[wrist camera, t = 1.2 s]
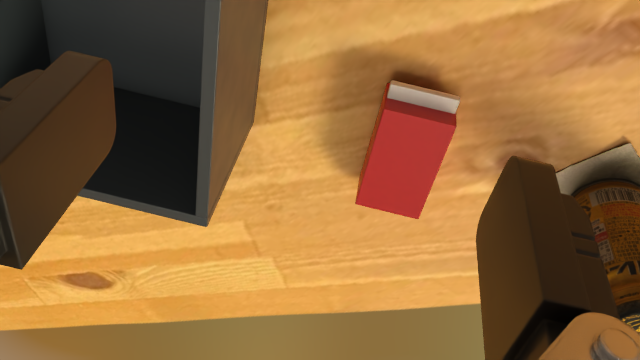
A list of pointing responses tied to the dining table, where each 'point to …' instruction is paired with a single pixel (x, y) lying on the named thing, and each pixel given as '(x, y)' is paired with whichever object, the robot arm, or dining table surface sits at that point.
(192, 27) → the storage bin
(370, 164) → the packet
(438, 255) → the dining table surface
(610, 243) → the condiment
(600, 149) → the dining table surface
